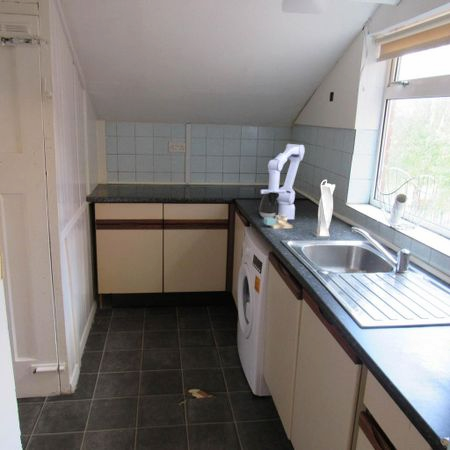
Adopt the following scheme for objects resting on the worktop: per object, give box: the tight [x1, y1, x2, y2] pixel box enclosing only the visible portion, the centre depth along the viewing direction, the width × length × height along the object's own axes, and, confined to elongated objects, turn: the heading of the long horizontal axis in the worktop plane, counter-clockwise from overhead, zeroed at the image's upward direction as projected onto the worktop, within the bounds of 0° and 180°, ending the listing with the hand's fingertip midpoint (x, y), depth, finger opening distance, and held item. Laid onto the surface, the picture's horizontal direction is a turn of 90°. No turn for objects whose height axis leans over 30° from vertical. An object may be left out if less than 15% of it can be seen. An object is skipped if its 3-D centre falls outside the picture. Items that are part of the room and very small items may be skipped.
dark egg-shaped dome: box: [258, 193, 278, 219], centre depth 255 cm, size 10×10×15 cm
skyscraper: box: [312, 179, 336, 239], centre depth 218 cm, size 8×8×28 cm
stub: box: [263, 217, 276, 226], centre depth 234 cm, size 5×5×3 cm
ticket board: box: [267, 214, 293, 230], centre depth 238 cm, size 11×13×5 cm
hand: (272, 206), depth 241 cm, fingers closed
